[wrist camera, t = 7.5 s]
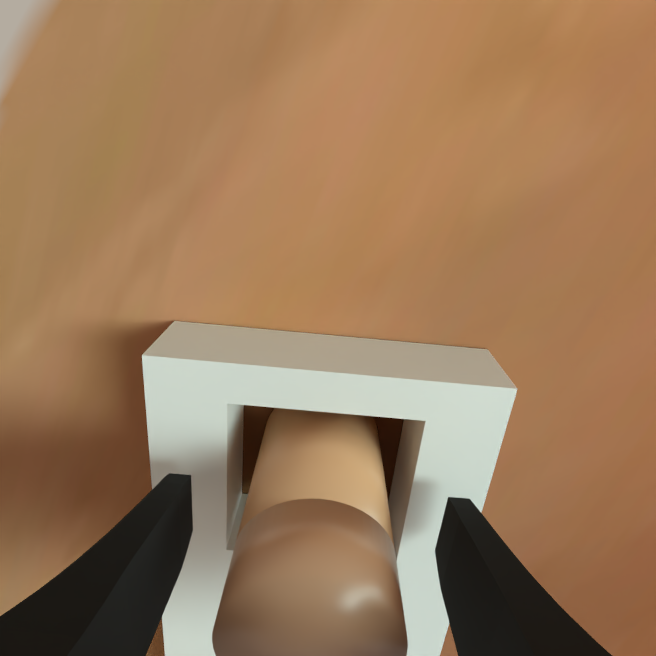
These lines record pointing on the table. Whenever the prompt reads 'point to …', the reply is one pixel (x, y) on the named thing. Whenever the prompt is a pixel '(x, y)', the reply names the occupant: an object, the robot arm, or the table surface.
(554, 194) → the table surface
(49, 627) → the robot arm
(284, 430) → the tan round-topped peg
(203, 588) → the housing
